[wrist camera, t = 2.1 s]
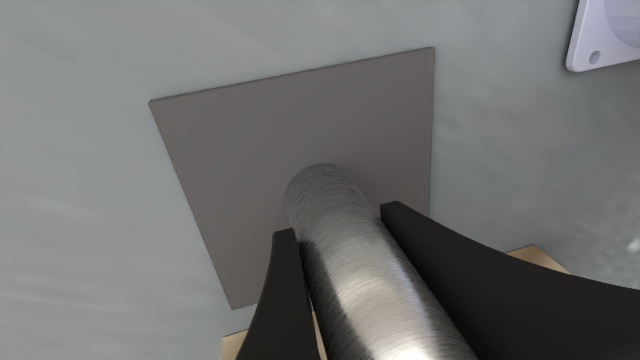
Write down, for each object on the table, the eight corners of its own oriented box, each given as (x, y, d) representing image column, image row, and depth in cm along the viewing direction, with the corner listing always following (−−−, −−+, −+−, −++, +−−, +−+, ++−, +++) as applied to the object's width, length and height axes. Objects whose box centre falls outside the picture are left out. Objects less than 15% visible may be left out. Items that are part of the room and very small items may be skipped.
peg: (351, 155, 13) (581, 442, 5) (357, 216, 15) (538, 517, 6) (277, 173, 13) (377, 523, 4) (291, 233, 14) (385, 583, 6)
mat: (430, 46, 12) (434, 47, 12) (424, 250, 17) (427, 254, 17) (150, 100, 11) (147, 102, 10) (232, 305, 16) (232, 310, 15)
